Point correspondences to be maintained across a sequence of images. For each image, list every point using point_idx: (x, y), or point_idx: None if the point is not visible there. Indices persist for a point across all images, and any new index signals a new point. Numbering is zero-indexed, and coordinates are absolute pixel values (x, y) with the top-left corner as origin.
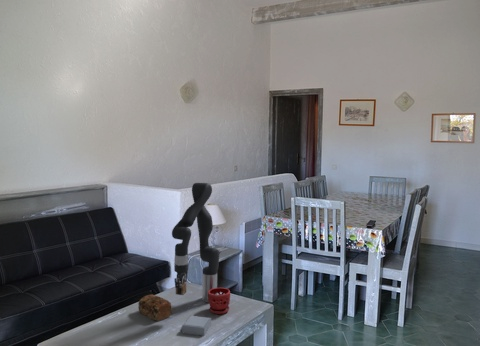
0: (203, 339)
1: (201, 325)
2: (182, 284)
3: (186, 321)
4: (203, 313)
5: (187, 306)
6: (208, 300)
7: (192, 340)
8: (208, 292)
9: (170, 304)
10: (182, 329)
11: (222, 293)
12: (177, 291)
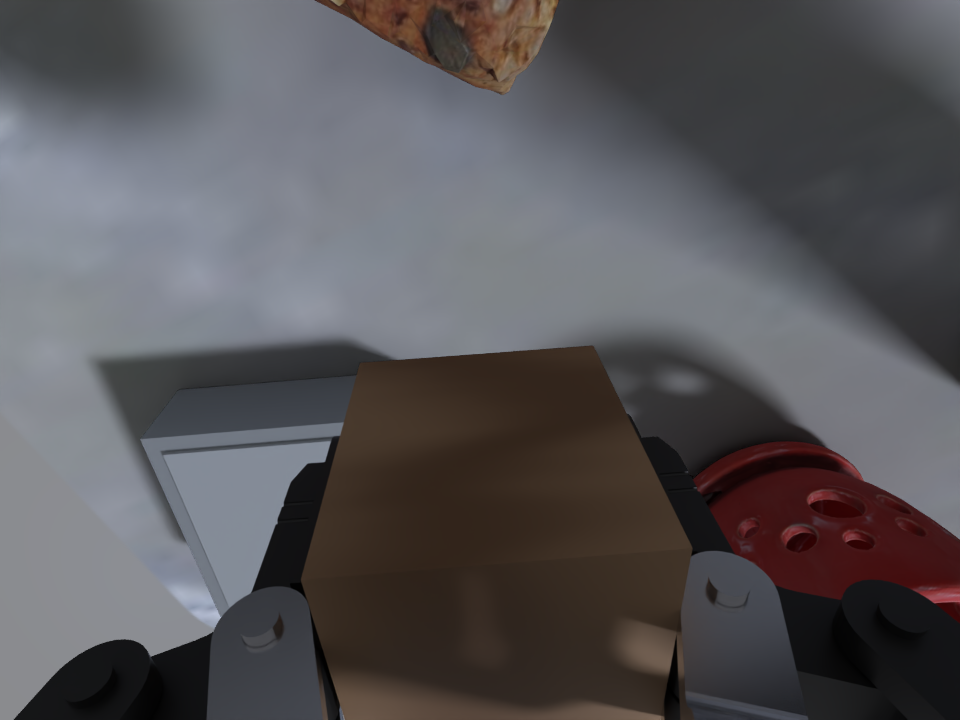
0: (186, 570)
1: (245, 588)
2: (521, 711)
3: (252, 440)
4: (669, 405)
5: (854, 157)
6: (787, 519)
7: (116, 514)
8: None
9: (489, 80)
10: (164, 412)
11: (957, 619)
12: (277, 519)
